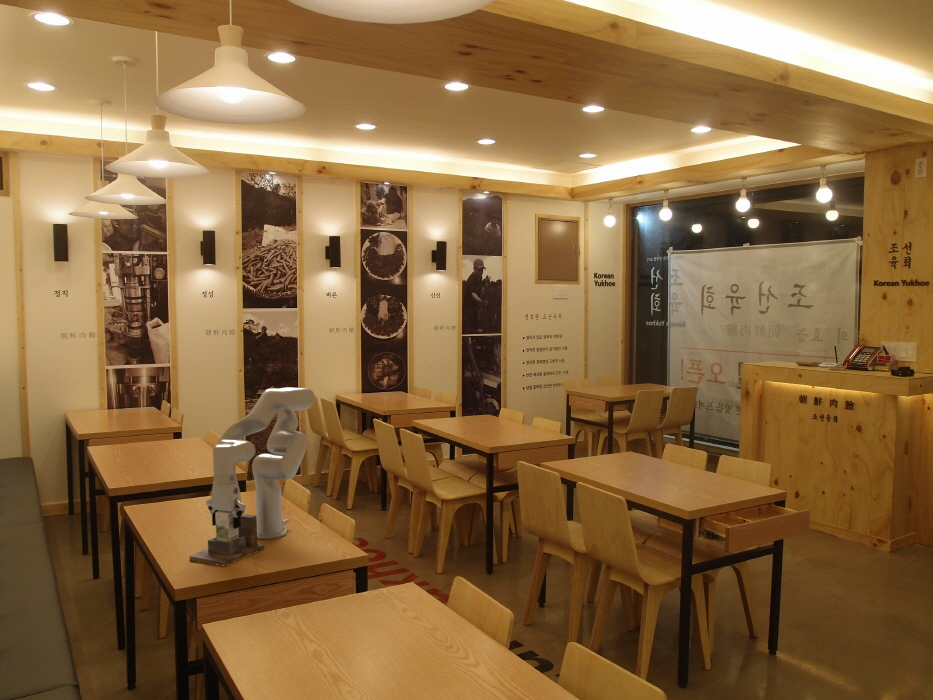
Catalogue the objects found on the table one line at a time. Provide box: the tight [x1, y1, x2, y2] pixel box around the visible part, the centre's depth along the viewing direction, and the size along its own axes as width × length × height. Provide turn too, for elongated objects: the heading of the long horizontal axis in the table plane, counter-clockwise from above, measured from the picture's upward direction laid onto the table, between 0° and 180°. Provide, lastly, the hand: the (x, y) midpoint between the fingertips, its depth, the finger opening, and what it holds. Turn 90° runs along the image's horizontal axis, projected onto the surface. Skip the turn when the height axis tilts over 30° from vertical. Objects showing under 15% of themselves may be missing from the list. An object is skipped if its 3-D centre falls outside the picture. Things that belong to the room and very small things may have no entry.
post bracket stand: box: [188, 513, 265, 567], centre depth 262 cm, size 20×16×12 cm
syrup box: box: [215, 511, 239, 542], centre depth 262 cm, size 6×6×14 cm
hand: (226, 526), depth 262 cm, fingers open, 9 cm apart
